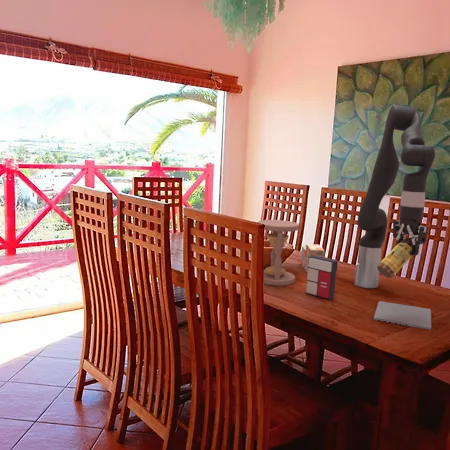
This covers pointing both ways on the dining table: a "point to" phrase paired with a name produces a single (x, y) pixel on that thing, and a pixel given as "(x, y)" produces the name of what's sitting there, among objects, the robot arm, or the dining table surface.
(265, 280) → the hourglass
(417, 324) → the slate mat
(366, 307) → the dining table surface
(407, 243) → the sauce bottle
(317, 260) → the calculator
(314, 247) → the cardboard box
